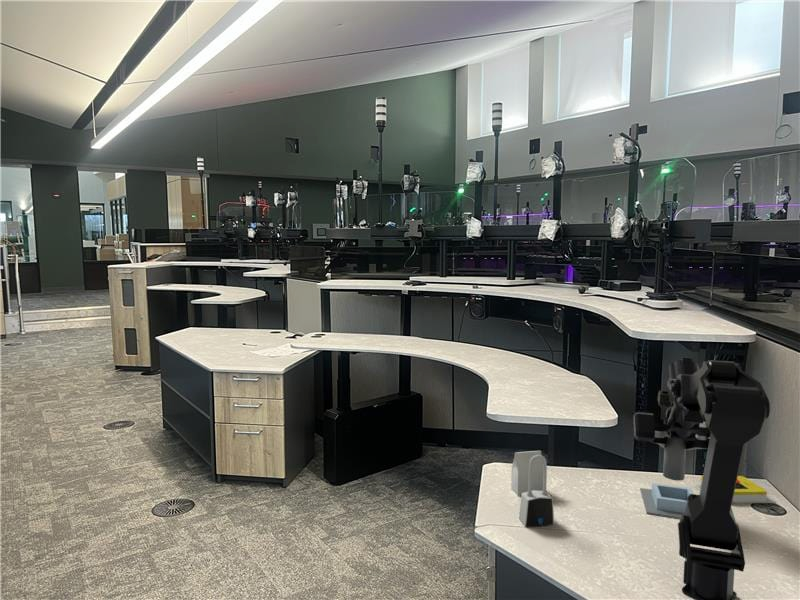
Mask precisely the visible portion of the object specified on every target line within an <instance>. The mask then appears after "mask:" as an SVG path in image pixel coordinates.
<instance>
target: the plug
mask: <svg viewBox="0 0 800 600" xmlns="http://www.w3.org/2000/svg"><path fill="white" fill-rule="evenodd" d="M665 440H666V445H665V447H664V448H663V467H662V469H663V470H662V475H663V477H664V478H666V479H668V480H672V481H677V482H678V481H679V482H681V481H684V480H685V474H686V473H685V472H686V458H687V457H686V456H687V455H686V454H687V450H686V440H682V439H672V438H670V436H665Z"/></svg>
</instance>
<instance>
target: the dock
mask: <svg viewBox="0 0 800 600" xmlns="http://www.w3.org/2000/svg"><path fill="white" fill-rule="evenodd" d="M639 490H640V494H641V498H642V502H643V506H644V509H645V513H646V514H647V515H652V516H653V515H654V516H659V517H666V518H673V519H678V520H680V519H681V516H682V515H685V509H686V506H687V498H688V496H689V495H690V494H695V493H694V491H693V489H692V488H691V487H685V486H677V485H669V484H662V483H654V482H652V483H651V489H649V488H643V487H641V488H639Z"/></svg>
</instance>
